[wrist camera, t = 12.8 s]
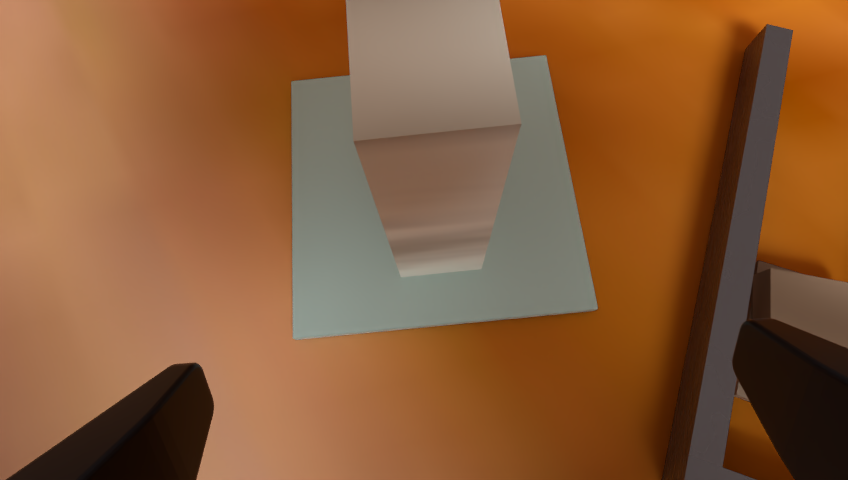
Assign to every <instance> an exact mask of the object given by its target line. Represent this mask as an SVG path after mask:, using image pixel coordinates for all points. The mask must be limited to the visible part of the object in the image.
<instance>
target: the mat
mask: <svg viewBox="0 0 848 480" xmlns="http://www.w3.org/2000/svg"><path fill="white" fill-rule="evenodd" d="M510 63H511V68H512V74H513V79H514V85H515V90H516V96H517V102H518V107H519V113H520V118H521V127H520V131H519V135H518V138H517V142H516V145H515V149H514V153H513V156H512V160H511V164H510V167H509V171H508V175H507V178H506V182H505V185H504V189H503V193H502V196H501V200H500V204H499V207H498V211H497V215H496V218H495V222H494V225H493V229H492V233H491V236H490V240H489V244H488V247H487V251H486V255H485V258H484V262H483V265H482V269H480V270H470V271H460V272H450V273H440V274H430V275H420V276H410V277H401V276H400V273H399V271H398V268H397V265H396V262H395V259H394V256H393V253H392V250H391V248H390V245H389V242H388V239H387V236H386V233H385V230H384V227H383V225H382V222H381V219H380V216H379V213H378V210H377V207H376V204H375V202H374V199H373V196H372V193H371V190H370V187H369V184H368V181H367V179H366V176H365V173H364V170H363V167H362V164H361V161H360V158H359V156H358V153H357V150H356V147H355V144H354V141H353V124H352V105H351V87H350V75H347V76H338V77H328V78H318V79H308V80H299V81H291V107H292V277H293V339H295V340H300V339H310V338H320V337H331V336H341V335H351V334H362V333H372V332H382V331H392V330H403V329H413V328H423V327H433V326H444V325H454V324H464V323H474V322H485V321H495V320H505V319H515V318H526V317H536V316H546V315H556V314H567V313H577V312H587V311H595V310H597V309H598V306H597V301H596V296H595V291H594V286H593V281H592V277H591V272H590V267H589V262H588V257H587V252H586V247H585V242H584V238H583V233H582V228H581V223H580V218H579V213H578V208H577V204H576V199H575V194H574V189H573V184H572V179H571V174H570V170H569V165H568V160H567V155H566V150H565V145H564V140H563V135H562V131H561V126H560V121H559V116H558V111H557V106H556V101H555V97H554V92H553V87H552V82H551V77H550V72H549V67H548V62H547V58H546V55H543V56H533V57H523V58H514V59H510Z"/></svg>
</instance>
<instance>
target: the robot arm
mask: <svg viewBox="0 0 848 480" xmlns="http://www.w3.org/2000/svg"><path fill="white" fill-rule="evenodd" d="M732 366H733V370H734V373H735V375H736V377H737V379H738V381H739V383H740V385H741V386H742V388H743V390H744V392H745V394H746V396H747V397H748V399H749V401H750V403H751V405H752V407H753V409H754V410H755V412H756V414H757V416H758V418H759V420H760V421H761V423H762V425H763V427H764V429H765V431H766V433H767V434H768V436H769V438H770V440H771V442H772V444H773V445H774V447H775V449H776V450H777V452H778V454H779V456H780V457H781V459H782V461H783V462H784V464H785V465H786V467H787V468H788V470H789V472H790V473H791V475H792V476H793V478H794V479H795V480H848V348H846V347H843V346H841V345H838V344H836V343H833V342H831V341H828V340H826V339H823V338H821V337H818V336H816V335H813V334H811V333H808V332H806V331H803V330H801V329H799V328H796V327H794V326H791V325H789V324H786V323H784V322H781V321H779V320H776V319H773V318H761V319H749V320H746V321H744V322H743V323H742V325H741V327H740V330H739V334H738V338H737V342H736V346H735V350H734V354H733V358H732ZM213 411H214V403H213V398H212V395H211V392H210V389H209V386H208V383H207V381H206V378H205V375H204V372H203V369H202V367H201V366H200V365H199V364H197V363H183V364H174V365H171V366H170V367H168V368H167V369H165V370H164V371H162V372H161V373H159V374H158V375H156V376H155V377H154V378H152V379H151V380H149V381H148V382H146V383H145V384H143V385H142V386H141V387H139V388H138V389H136V390H135V391H133V392H132V393H130V394H129V395H128V396H126V397H125V398H123V399H122V400H120V401H119V402H117V403H116V404H115V405H113V406H112V407H110V408H109V409H107V410H106V411H105V412H103V413H102V414H100V415H99V416H97V417H96V418H94V419H93V420H92V421H90V422H89V423H87V424H86V425H84V426H83V427H81V428H80V429H79V430H77V431H76V432H74V433H73V434H71V435H70V436H68V437H67V438H66V439H64V440H63V441H61V442H60V443H58V444H57V445H55V446H54V447H53V448H51V449H50V450H48V451H47V452H45V453H44V454H42V455H41V456H40V457H38V458H37V459H35V460H34V461H32V462H31V463H29V464H28V465H27V466H25V467H24V468H22V469H21V470H19V471H18V472H16V473H15V474H14V475H12V476H11V477H9V478H8V479H6V480H196V479H197V475H198V471H199V467H200V463H201V459H202V456H203V452H204V448H205V444H206V440H207V436H208V432H209V428H210V424H211V420H212V417H213Z"/></svg>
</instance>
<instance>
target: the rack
mask: <svg viewBox="0 0 848 480" xmlns="http://www.w3.org/2000/svg"><path fill="white" fill-rule="evenodd" d="M792 33H793V30H789V29H785V28H781V27H777V26H773V25H768V24H767V25H766V26H765V27H764V28H763V29H762V31H761V32H760V33H759V34H758V35H757V37H756V38H755V39H754V40H753V41H752V42H751V44H750V45H749V46H748V47H747V48H746V49H745V54H744V59H743V64H742V70H741V75H740V80H739V85H738V90H737V95H736V101H735V106H734V111H733V116H732V121H731V126H730V131H729V137H728V142H727V147H726V152H725V157H724V162H723V168H722V173H721V178H720V183H719V188H718V193H717V199H716V204H715V209H714V214H713V219H712V224H711V229H710V235H709V240H708V245H707V250H706V255H705V260H704V266H703V271H702V276H701V281H700V286H699V291H698V296H697V302H696V307H695V312H694V317H693V322H692V327H691V333H690V338H689V343H688V348H687V353H686V358H685V363H684V369H683V374H682V379H681V384H680V389H679V394H678V400H677V405H676V410H675V415H674V420H673V425H672V431H671V436H670V441H669V446H668V451H667V456H666V461H665V467H664V472H663V477H662V480H756V479H753V478H750V477H748V476H745V475H742V474H739V473H737V472H734V471H731V470H728V469H726V468H723V461H724V455H725V449H726V443H727V436H728V430H729V424H730V418H731V412H732V405H733V399H734V393H735V387H736V381H737V377H736V375H735V373H734V370H733V366H732V358H733V354H734V350H735V346H736V342H737V338H738V334H739V330H740V327H741V325H742V323H743V322H744V321H746V319H747V312H748V306H749V300H750V294H751V288H752V281H753V275H754V269H755V263H756V257H757V250H758V244H759V238H760V232H761V226H762V219H763V213H764V207H765V201H766V195H767V188H768V182H769V176H770V170H771V164H772V157H773V151H774V145H775V139H776V133H777V126H778V120H779V114H780V108H781V102H782V95H783V89H784V83H785V77H786V71H787V64H788V58H789V52H790V46H791V40H792Z"/></svg>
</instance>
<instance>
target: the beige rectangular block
mask: <svg viewBox="0 0 848 480" xmlns="http://www.w3.org/2000/svg"><path fill="white" fill-rule="evenodd" d="M346 13H347V32H348V50H349V68H350V87H351V105H352V124H353V141H354V144H355V147H356V150H357V153H358V156H359V158H360V161H361V164H362V167H363V170H364V173H365V176H366V179H367V181H368V184H369V187H370V190H371V193H372V196H373V199H374V202H375V204H376V207H377V210H378V213H379V216H380V219H381V222H382V225H383V227H384V230H385V233H386V236H387V239H388V242H389V245H390V248H391V250H392V253H393V256H394V259H395V262H396V265H397V268H398V271H399V273H400V276H401V277H410V276H420V275H430V274H440V273H450V272H460V271H470V270H480V269H482V265H483V262H484V258H485V255H486V251H487V247H488V244H489V240H490V236H491V233H492V229H493V225H494V222H495V218H496V215H497V211H498V207H499V204H500V200H501V196H502V193H503V189H504V185H505V182H506V178H507V175H508V171H509V167H510V164H511V160H512V156H513V153H514V149H515V145H516V142H517V138H518V135H519V131H520V127H521V118H520V113H519V107H518V102H517V96H516V90H515V85H514V79H513V74H512V68H511V63H510V57H509V52H508V46H507V40H506V35H505V29H504V24H503V18H502V13H501V7H500V2H499V0H346Z"/></svg>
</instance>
